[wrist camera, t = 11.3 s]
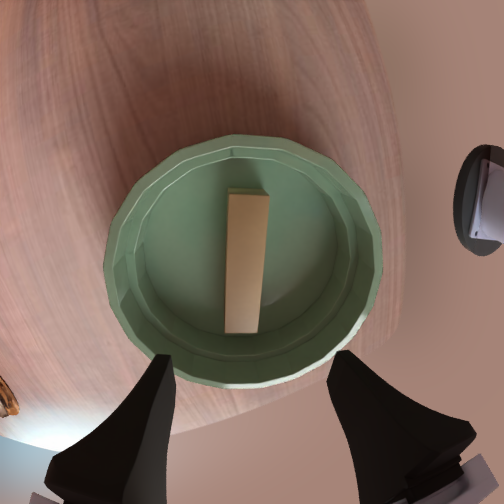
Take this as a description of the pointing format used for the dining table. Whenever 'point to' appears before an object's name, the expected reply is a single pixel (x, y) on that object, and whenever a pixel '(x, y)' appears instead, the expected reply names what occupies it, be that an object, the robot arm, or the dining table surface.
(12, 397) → the brown mottled round dish
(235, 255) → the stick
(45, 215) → the dining table surface
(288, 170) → the mixing bowl
